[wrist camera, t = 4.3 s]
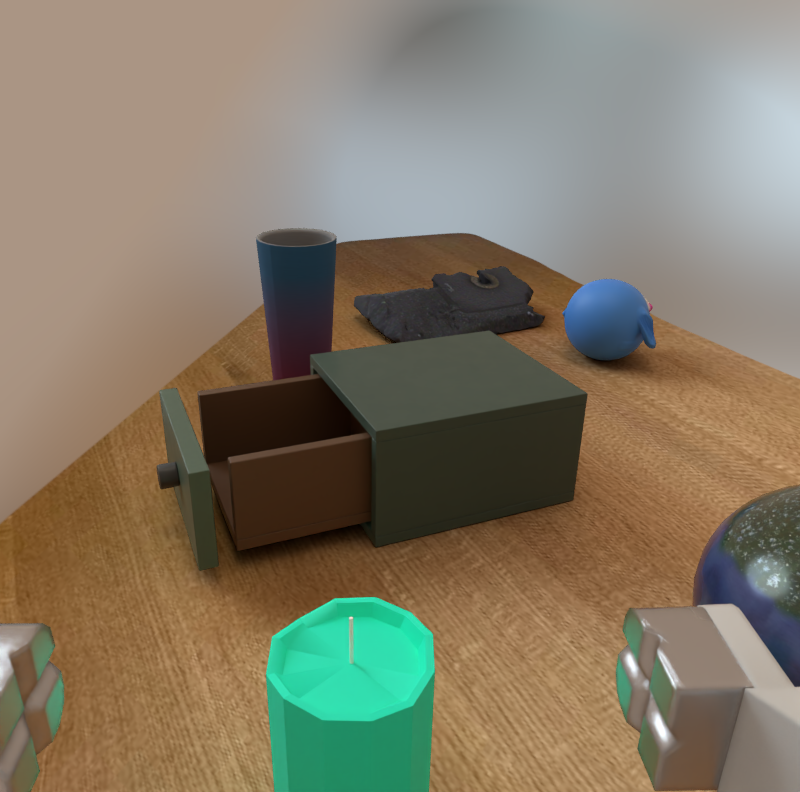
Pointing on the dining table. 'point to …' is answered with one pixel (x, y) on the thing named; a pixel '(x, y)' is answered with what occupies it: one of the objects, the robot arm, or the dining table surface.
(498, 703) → the dining table surface
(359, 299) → the dark slate chunk
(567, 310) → the blue mole toy
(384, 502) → the cabinet
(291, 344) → the cup
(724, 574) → the vase
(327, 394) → the drawer
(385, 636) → the candle
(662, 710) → the robot arm
